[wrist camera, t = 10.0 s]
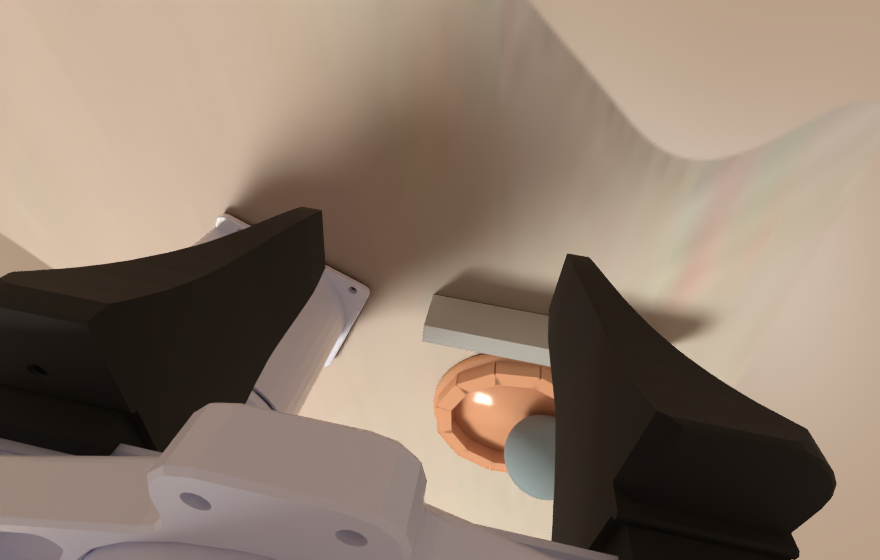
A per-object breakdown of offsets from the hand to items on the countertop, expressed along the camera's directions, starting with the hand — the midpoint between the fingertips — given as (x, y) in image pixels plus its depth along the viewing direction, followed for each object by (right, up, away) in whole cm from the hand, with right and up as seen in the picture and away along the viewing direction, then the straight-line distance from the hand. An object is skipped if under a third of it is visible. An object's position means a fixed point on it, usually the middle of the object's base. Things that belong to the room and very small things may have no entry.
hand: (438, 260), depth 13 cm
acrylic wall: (+6, -3, +13) cm, 14 cm away
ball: (+7, -12, +15) cm, 20 cm away
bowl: (+5, -10, +17) cm, 20 cm away
